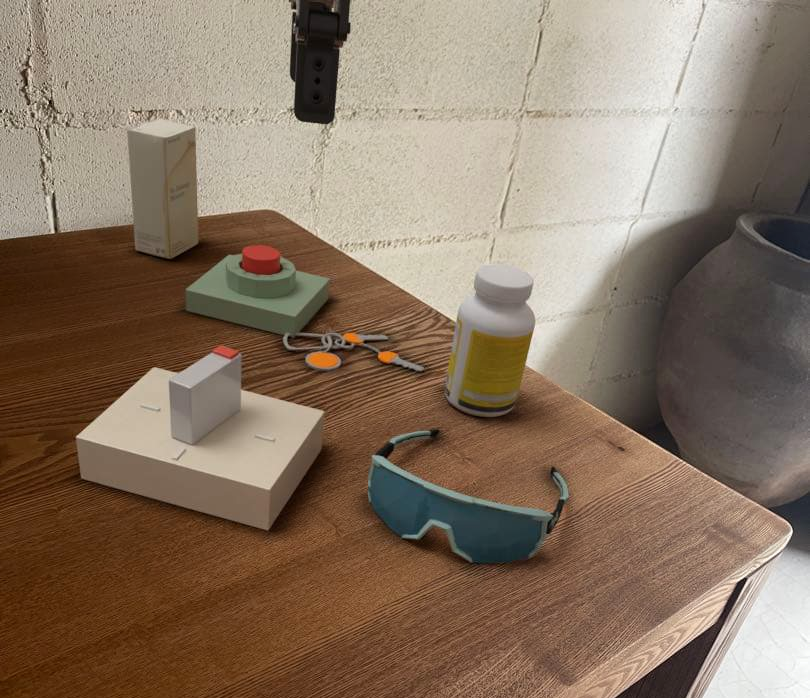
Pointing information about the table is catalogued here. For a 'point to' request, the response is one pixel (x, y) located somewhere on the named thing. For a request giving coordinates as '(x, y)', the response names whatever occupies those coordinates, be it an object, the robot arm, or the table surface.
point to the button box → (258, 296)
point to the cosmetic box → (163, 187)
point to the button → (261, 260)
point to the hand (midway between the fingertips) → (310, 101)
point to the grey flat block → (205, 394)
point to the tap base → (203, 453)
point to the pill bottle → (491, 342)
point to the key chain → (331, 361)
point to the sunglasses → (457, 512)
